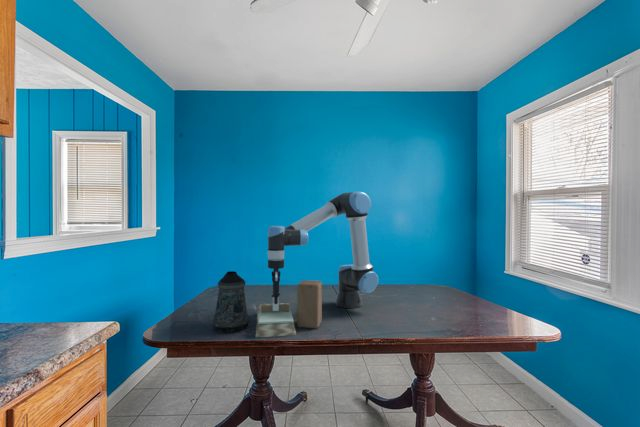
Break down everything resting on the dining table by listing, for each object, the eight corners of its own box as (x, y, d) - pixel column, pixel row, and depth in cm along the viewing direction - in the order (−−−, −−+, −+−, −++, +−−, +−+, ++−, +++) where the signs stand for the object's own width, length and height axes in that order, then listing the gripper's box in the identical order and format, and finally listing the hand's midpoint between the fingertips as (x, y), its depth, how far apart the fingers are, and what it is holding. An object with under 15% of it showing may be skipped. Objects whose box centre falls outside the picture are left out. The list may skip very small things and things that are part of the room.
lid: (290, 312, 148) (290, 304, 148) (293, 322, 133) (293, 313, 133) (259, 313, 145) (259, 305, 146) (258, 324, 131) (258, 315, 131)
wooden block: (317, 329, 140) (318, 285, 140) (296, 327, 142) (296, 283, 142) (322, 322, 150) (322, 280, 150) (302, 320, 152) (302, 279, 152)
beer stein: (229, 337, 131) (230, 277, 131) (199, 327, 141) (200, 272, 141) (257, 325, 145) (257, 271, 145) (228, 318, 155) (228, 267, 155)
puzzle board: (290, 312, 164) (290, 303, 165) (296, 335, 133) (296, 323, 133) (257, 314, 162) (257, 304, 162) (255, 337, 130) (255, 325, 130)
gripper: (267, 257, 150) (267, 306, 149) (268, 261, 137) (267, 315, 137) (283, 257, 151) (282, 305, 151) (285, 261, 138) (284, 314, 138)
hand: (275, 310), depth 144 cm, fingers closed
